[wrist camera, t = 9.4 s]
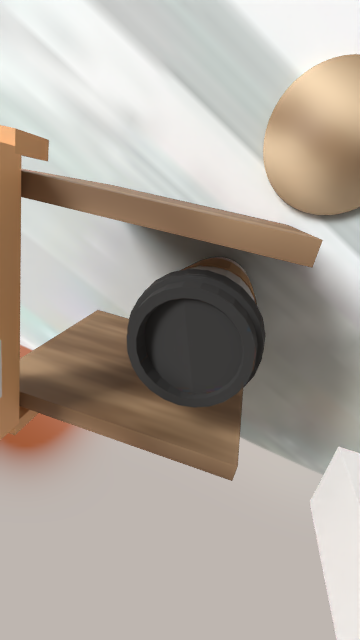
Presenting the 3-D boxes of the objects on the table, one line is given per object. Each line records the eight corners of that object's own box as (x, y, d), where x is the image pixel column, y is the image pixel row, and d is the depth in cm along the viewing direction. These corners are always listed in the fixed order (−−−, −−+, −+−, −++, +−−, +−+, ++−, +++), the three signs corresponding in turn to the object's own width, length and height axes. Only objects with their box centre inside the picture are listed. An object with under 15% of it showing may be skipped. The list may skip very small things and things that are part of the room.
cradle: (111, 185, 30) (-23, 160, 15) (287, 224, 27) (322, 240, 13) (96, 319, 35) (-14, 394, 21) (242, 362, 33) (232, 481, 18)
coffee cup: (182, 327, 33) (129, 411, 19) (173, 249, 30) (105, 281, 17) (262, 326, 31) (267, 419, 17) (260, 241, 28) (265, 271, 14)
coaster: (288, 47, 23) (289, 43, 23) (443, 70, 22) (448, 66, 21) (247, 199, 27) (247, 199, 27) (375, 228, 26) (377, 228, 25)
